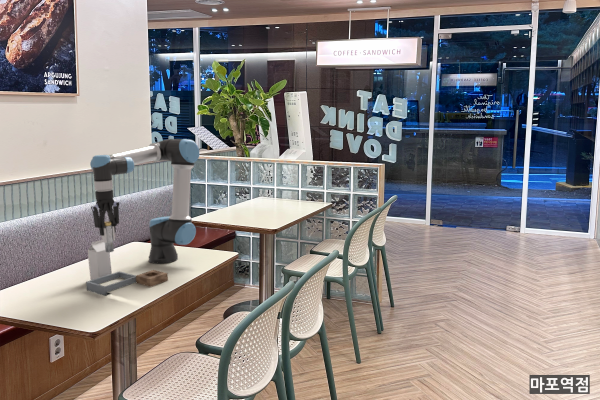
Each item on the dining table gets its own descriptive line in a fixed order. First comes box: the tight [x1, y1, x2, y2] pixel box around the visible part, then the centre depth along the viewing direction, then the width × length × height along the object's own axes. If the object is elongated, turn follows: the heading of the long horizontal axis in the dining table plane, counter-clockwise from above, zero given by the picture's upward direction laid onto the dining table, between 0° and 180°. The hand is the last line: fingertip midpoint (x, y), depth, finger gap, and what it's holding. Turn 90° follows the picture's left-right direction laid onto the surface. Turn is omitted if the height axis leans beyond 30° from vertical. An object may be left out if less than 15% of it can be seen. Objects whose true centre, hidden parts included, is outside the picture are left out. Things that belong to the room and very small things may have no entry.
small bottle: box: [104, 220, 115, 253], centre depth 245 cm, size 4×4×14 cm
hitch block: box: [135, 269, 169, 288], centre depth 251 cm, size 10×10×5 cm
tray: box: [85, 270, 137, 297], centre depth 249 cm, size 18×14×4 cm
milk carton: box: [87, 239, 113, 281], centre depth 260 cm, size 7×7×19 cm
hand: (108, 241), depth 246 cm, fingers closed on small bottle, 3 cm apart
